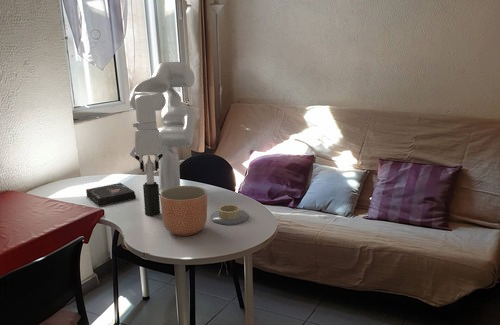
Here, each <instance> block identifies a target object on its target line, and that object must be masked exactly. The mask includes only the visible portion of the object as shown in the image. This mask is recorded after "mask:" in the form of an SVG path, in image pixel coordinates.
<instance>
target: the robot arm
mask: <svg viewBox="0 0 500 325" xmlns="http://www.w3.org/2000/svg"><path fill="white" fill-rule="evenodd" d="M194 73H195V72H194V71H193V69H192V68H191V67H190V66H189V65H188V64H187V63H185V62H183V61H163V62H160V63H158V64H157V65H156V68H155V70H154V72H153V73H152V75H151V77H148V78H146V79H144V80H143V81H141V82H139V83H137V84H136V85H135V86H134V88H133V89H132V91H131V93H130V96H129V106H130V108H131V109H132V110H134V111H135V118H136V119H135V120H136V122H135V123H133V124H132V127H133V128H136V129H135V130H134V131H135V132H134V147H133V148H132V150H131V151H130V154H129V156H131V157H133V158H134V159H135V160H137V161H138V162H139V169H140V171H142V173H144V172H145V166H144V160H143V159H144V158H143V157H144V156H154V157H155V158H154V159H155V160H154V170H155V172H158V175H159V176H158V177H159V196H160V194H161V192H162V191H163V190H165V189H168V188H171V187H176V186H181V178H180V177H181V175H180V174H181V173H180V156H179V153H178V151H177V150H176V148H188V147H191V146H192V144H193V141H194V134H195V125H196V113H195V110H194V108H193V107H191V106H188V105H182V97H181V95H180V94H179V93H178V91H176V89H175V88H191V87H192V86H193V85H194V84H195V74H194ZM158 111H161V113H160V121H161V124H163V125H164V126H159V127H157V115H156V113H157V112H158Z"/></svg>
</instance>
